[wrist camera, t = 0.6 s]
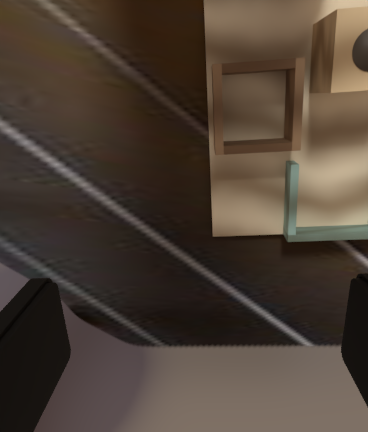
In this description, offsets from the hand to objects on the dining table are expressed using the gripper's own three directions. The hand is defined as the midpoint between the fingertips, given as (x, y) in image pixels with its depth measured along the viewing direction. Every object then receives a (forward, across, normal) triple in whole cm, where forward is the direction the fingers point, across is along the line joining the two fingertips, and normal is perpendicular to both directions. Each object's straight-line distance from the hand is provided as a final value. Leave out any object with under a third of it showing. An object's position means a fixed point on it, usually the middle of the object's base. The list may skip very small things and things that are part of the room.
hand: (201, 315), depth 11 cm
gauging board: (+28, -10, -3) cm, 30 cm away
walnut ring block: (+27, -5, -5) cm, 28 cm away
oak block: (+27, -14, -9) cm, 32 cm away
